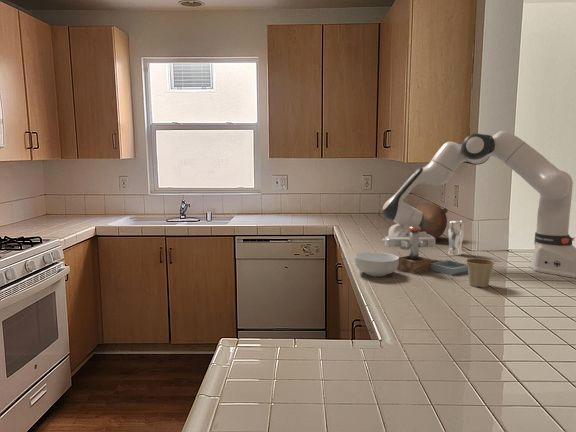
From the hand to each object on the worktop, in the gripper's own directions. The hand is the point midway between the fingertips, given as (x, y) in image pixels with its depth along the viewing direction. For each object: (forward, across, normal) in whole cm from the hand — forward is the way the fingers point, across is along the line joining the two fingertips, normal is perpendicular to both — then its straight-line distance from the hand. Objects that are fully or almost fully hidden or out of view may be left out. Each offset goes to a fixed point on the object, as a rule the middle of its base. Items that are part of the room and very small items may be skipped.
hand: (414, 245), depth 186 cm
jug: (-68, +25, +10) cm, 74 cm away
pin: (-1, 0, +10) cm, 10 cm away
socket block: (-1, 0, +10) cm, 10 cm away
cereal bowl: (+5, -16, +10) cm, 20 cm away
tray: (+1, +14, +10) cm, 17 cm away
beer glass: (-28, +27, +10) cm, 40 cm away
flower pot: (+22, +16, +10) cm, 29 cm away
